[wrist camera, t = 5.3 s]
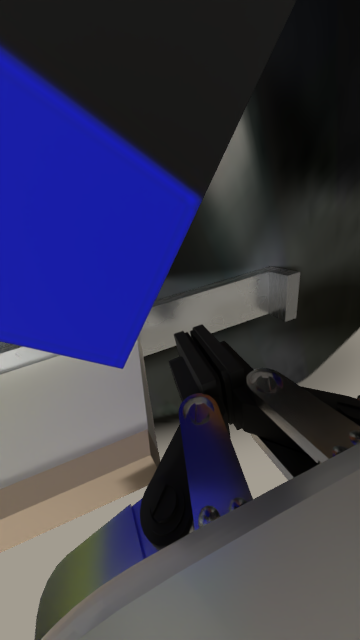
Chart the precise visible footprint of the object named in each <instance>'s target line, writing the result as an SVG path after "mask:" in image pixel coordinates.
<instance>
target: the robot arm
mask: <svg viewBox="0 0 360 640" xmlns="http://www.w3.org/2000/svg"><path fill="white" fill-rule="evenodd" d="M190 335H191V336H190ZM190 335H189V333H188V332H186V333H184V331H181V332H178V333H175V334H174V338H175V342H176V345H177V349H178V353H179V356H180V357H178V358H175V359H173V360H170V361H169V365H170V368H171V371H172V374H173V377H174V380H175V383H176V386H177V389H178V392H179V394H180V397H181V400H182V403H181V405H180V408H179V419H180V425H179V427H178V429H177V431H176V433H175V434H174V436H173V439H172V440H171V442H170V444H169V446H168V448H167V450H166V452H165V454H164V456H163V458H162V460H161V462H160V463H159V465H158V467H157V469H156V471H155V473H154V475H153V477H152V479H151V481H150V483H149V485H148V487H147V489H146V491H145V493H144V496H143V498H142V499H141V500H140V501H138V502H137V503H136V504H135V505H133V506H131V504H130V505H129V506H128V507H126V508H125V509H124V510H123V511H121V512H120V513H119V514H117V515H116V516H115V517H114V518H113V519H111V520H110V521H109V522H108V523H106V524H105V525H104V526H103V527H101V528H100V529H99V530H98V531H96V532H95V533H94V534H93V535H92V536H90V537H89V538H88V539H87V540H85V541H84V542H83V543H82V544H80V545H79V546H78V547H77V548H75V549H74V550H73V551H72V552H70V553H69V554H68V555H67V556H66V557H65V558H64V559H63V560H62V561H61V562H60V563H59V564H58V565H57V566H56V568H55V570H54V571H53V573H52V574H51V576H50V578H49V579H48V581H47V584H46V586H45V588H44V591H43V593H42V596H41V599H40V604H39V608H38V614H37V619H36V629H35V640H360V395H359V396H358V397H357V399H356V398H352V397H349V396H345V395H340V394H335V393H330V392H325V391H320V390H315V389H310V388H305V387H300V386H299V385H297V384H296V383H294V382H293V381H291V380H290V379H288V378H287V377H285V376H284V375H282V374H281V373H279V372H277V371H275V370H272V369H268V368H259V369H255V370H253V369H252V368H251V367H250V366H249V365H248V364H247V363H246V362H245V361H244V360H243V359H242V358H241V357H240V356H239V355H238V354H237V353H236V352H235V351H234V350H233V349H232V348H231V347H230V346H229V345H228V344H227V343H226V342H225V341H222V342H219V341H218V340H217V339H216V338H215V337H214V336H213V335H212V334H211V333H210V332H209V331H208V330H207V329H206V328H205V326H204V325H202V324H201V325H198V326H195V327H193V330H192V331H190ZM228 423H229V424H230V425H231V424H234V426H235V427H236V429H237V430H239V429H241V428H242V429H243V430H244V431H245V432H248V433H251V436H252V437H253V439H254V440H255V441H256V443H257V444H258V445H259V446H260V447H261V449H262V450H263V451H264V452H265V453H266V454H267V456H268V457H269V458H270V459H271V460H272V462H273V463H274V464H275V465H276V466H277V468H278V469H279V470H280V471H281V472H282V473H283V475H284V476H285V477H286V478H287V479H288V481H287V482H285V483H283V484H281V485H279V486H277V487H276V488H274V489H272V490H270V491H268V492H266V493H264V494H262V495H261V496H259V497H257V498H255V499H253V498H252V496H251V493H250V491H249V488H248V485H247V482H246V480H245V477H244V474H243V472H242V469H241V466H240V463H239V461H238V458H237V455H236V453H235V450H234V448H233V445H232V442H231V439H230V431H229V425H228Z"/></svg>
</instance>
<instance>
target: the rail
mask: <svg viewBox="0 0 360 640" xmlns="http://www.w3.org/2000/svg"><path fill="white" fill-rule="evenodd" d="M299 281H300V272H298V271H292V270H287V269H281V268H276V267H270V266H269V267H266V268H262V269H259V270H256V271H252V272H249V273H246V274H242V275H239V276H236V277H232V278H229V279H226V280H222V281H219V282H216V283H212V284H209V285H206V286H202V287H199V288H196V289H192V290H189V291H186V292H182V293H179V294H175V295H172V296H169V297H165V298H162V299H159V300H155V302H154V304H153V306H152V308H151V310H150V313H149V315H148V317H147V319H146V321H145V323H144V325H143V327H142V330H141V332H140V334H139V336H138V337H139V340H140V342H141V345H142V351H143V357H144V356H147V355H150V354H153V353H156V352H159V351H161V350H164V349H167V348H170V347H173V346H176V342H175V338H174V334H175V333H178V332H181V331H184V333H186V332H188V333H189V335H190V331H192V330H193V327H195V326H198V325H201V324H202V325H204V326H205V328H206V329H207V330H208V331H209V332H210V333H214V332H217V331H220V330H222V329H225V328H228V327H231V326H234V325H237V324H240V323H243V322H246V321H249V320H251V319H254V318H257V317H260V316H263V315H266V314H271V315H272V316H274V317H276V318H278V319H280V320H282V321H284V322H286V321H289V320H292V319H295V318H296V315H297V303H298V292H299ZM190 336H191V335H190ZM57 356H60V355H58V354H54V353H49V352H45V351H40V350H36V349H32V348H27V347H23V346H18V345H14V344H8V345H5V346H2V347H0V375H1V374H4V373H7V372H10V371H13V370H16V369H19V368H22V367H26V366H29V365H32V364H35V363H38V362H41V361H44V360H47V359H50V358H54V357H57Z"/></svg>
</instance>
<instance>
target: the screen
mask: <svg viewBox="0 0 360 640" xmlns="http://www.w3.org/2000/svg"><path fill="white" fill-rule="evenodd" d="M159 463H160V457H159V452H158V448H157V442H156V435H155V428H154V422H153V416H152V409H151V403H150V396H149V390H148V383H147V377H146V371H145V364H144V358H143V351H142V345H141V342H140V340H139V337H138V338H137V340H136V342H135V345H134V347H133V349H132V351H131V353H130V355H129V357H128V359H127V362H126V364H125V366H124V368H123V369H120V368H116V367H111V366H107V365H102V364H98V363H93V362H89V361H85V360H80V359H76V358H71V357H67V356H62V355H60V356H57V357H54V358H50V359H47V360H44V361H41V362H38V363H35V364H32V365H29V366H26V367H22V368H19V369H16V370H13V371H10V372H7V373H4V374H1V375H0V553H1V552H3V551H5V550H7V549H10V548H12V547H14V546H16V545H18V544H21V543H23V542H25V541H27V540H29V539H31V538H34V537H36V536H38V535H40V534H42V533H45V532H47V531H49V530H51V529H53V528H55V527H58V526H60V525H62V524H64V523H66V522H69V521H71V520H73V519H75V518H77V517H80V516H82V515H84V514H86V513H88V512H91V511H93V510H95V509H97V508H99V507H101V506H104V505H106V504H108V503H110V502H112V501H115V500H117V499H119V498H121V497H123V496H126V495H128V494H130V493H132V492H134V491H136V490H139V489H141V488H143V487H145V486H147V485H149V483H150V481H151V479H152V477H153V475H154V473H155V471H156V469H157V467H158V465H159Z"/></svg>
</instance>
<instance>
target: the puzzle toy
mask: <svg viewBox="0 0 360 640" xmlns="http://www.w3.org/2000/svg"><path fill="white" fill-rule="evenodd" d="M295 1H296V0H0V341H1V342H5V343H9V344H14V345H18V346H23V347H27V348H32V349H36V350H40V351H45V352H49V353H54V354H58V355H62V356H67V357H71V358H76V359H80V360H85V361H89V362H93V363H98V364H102V365H107V366H111V367H116V368H120V369H123V368H124V366H125V364H126V362H127V359H128V357H129V355H130V353H131V351H132V349H133V347H134V345H135V342H136V340H137V338H138V336H139V334H140V332H141V330H142V327H143V325H144V323H145V321H146V319H147V317H148V315H149V313H150V310H151V308H152V306H153V304H154V302H155V300H156V298H157V296H158V293H159V291H160V289H161V287H162V285H163V283H164V281H165V278H166V276H167V274H168V272H169V270H170V268H171V266H172V264H173V261H174V259H175V257H176V255H177V253H178V251H179V249H180V247H181V244H182V242H183V240H184V238H185V236H186V234H187V232H188V229H189V227H190V225H191V223H192V221H193V219H194V217H195V215H196V212H197V210H198V208H199V206H200V204H201V202H202V200H203V198H204V195H205V193H206V191H207V189H208V187H209V185H210V183H211V180H212V178H213V176H214V174H215V172H216V170H217V168H218V166H219V163H220V161H221V159H222V157H223V155H224V153H225V151H226V148H227V146H228V144H229V142H230V140H231V138H232V136H233V134H234V131H235V129H236V127H237V125H238V123H239V121H240V119H241V117H242V114H243V112H244V110H245V108H246V106H247V104H248V102H249V99H250V97H251V95H252V93H253V91H254V89H255V87H256V85H257V82H258V80H259V78H260V76H261V74H262V72H263V70H264V68H265V65H266V63H267V61H268V59H269V57H270V55H271V53H272V50H273V48H274V46H275V44H276V42H277V40H278V38H279V36H280V33H281V31H282V29H283V27H284V25H285V23H286V21H287V18H288V16H289V14H290V12H291V10H292V8H293V6H294V4H295Z"/></svg>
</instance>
